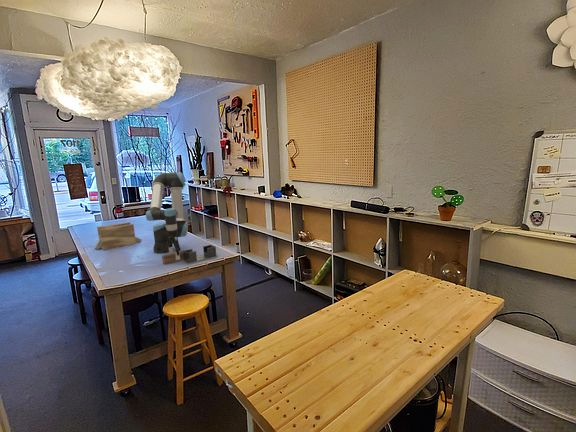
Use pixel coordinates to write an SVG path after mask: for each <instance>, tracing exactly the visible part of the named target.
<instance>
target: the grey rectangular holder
mask: <svg viewBox="0 0 576 432" xmlns="http://www.w3.org/2000/svg"><path fill="white" fill-rule="evenodd" d="M202 250H203V254H201V255H197V251H196V250H194V251H193V248H190V249H186V250H182V251H183V252H184V260H182V261H183V262H184V263H185V264H187V265H191V264H196V263H200V262H203V261H207V260H211V259H215V258H218V255H217V249H216V245H215V246H214V245H213V244H208V245H204V246H202Z"/></svg>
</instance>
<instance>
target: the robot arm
mask: <svg viewBox="0 0 576 432" xmlns="http://www.w3.org/2000/svg"><path fill="white" fill-rule="evenodd" d="M184 187H186V181H185V177H184V174H183V173H182V172H176V171H175V172H162V173H159V174H158V175H156V176H155V178H154V179H153V180H152V183H151V188H152V192H151V201H150V207H149V210H147V211H146V212H145V218H146V221H149V222H151V221H152V222H153V221H155V222H156V221H162V222H158V223H156V224H154V225H153V226H152V229H153V230H152V231H153V238H154V245H153V253H154V254H166V253H168V254H172V253H175V254H176V260H179V259H180V253H179V252H180V251H181V246H180V243H179V238H183V237H186V236H187V235H188V231H189V229H188V228H189V223H188V222H187V221H186V219H185V218H184V207H183V191H184ZM165 188H168V189H169V190H170V195H171V197H170V198H171V207H169V208H165V209H162V200H163V192H164V189H165ZM174 249H175V250H174Z"/></svg>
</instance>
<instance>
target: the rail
mask: <svg viewBox="0 0 576 432" xmlns="http://www.w3.org/2000/svg"><path fill="white" fill-rule="evenodd" d="M183 251H184V250H180V251H179V253H180V259H179V260H176V254H175V252H173V253H172V254H169V253H168V254H162V255H161V261H162V264H163V265H168V264H173V263H178V262H181V261H183V260H184V252H183Z"/></svg>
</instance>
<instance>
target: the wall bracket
mask: <svg viewBox="0 0 576 432" xmlns="http://www.w3.org/2000/svg"><path fill="white" fill-rule="evenodd" d="M107 225H108V226H107ZM107 225H106V226H107V228H111V226H109V225H110V224H107ZM135 240H136V244H137V243H141V242H142V239H141V238H140V237H137V236H135ZM101 248H102V243H101V237H100V239H99V238H98V241H97V243H96V244H95V245H94V248H93V249H94V250H96V251H97V250H99V249H101Z"/></svg>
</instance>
